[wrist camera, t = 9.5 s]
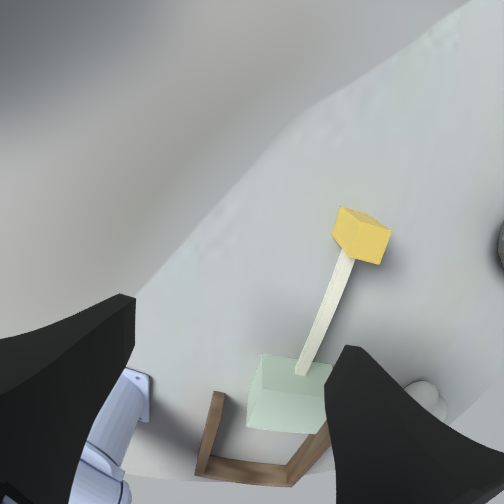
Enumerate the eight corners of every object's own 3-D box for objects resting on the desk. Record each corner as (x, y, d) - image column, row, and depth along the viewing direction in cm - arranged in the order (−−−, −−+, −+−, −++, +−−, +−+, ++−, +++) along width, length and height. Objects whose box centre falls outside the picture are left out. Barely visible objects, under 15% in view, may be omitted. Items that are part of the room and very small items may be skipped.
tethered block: (248, 392, 24) (245, 426, 20) (311, 197, 18) (324, 210, 14) (310, 401, 24) (315, 434, 20) (392, 222, 18) (419, 240, 14)
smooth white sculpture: (384, 384, 25) (429, 365, 22) (411, 411, 26) (449, 395, 24) (384, 419, 21) (434, 401, 18) (411, 441, 23) (453, 427, 20)
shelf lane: (197, 456, 28) (194, 475, 25) (213, 390, 24) (209, 415, 21) (290, 468, 29) (291, 487, 26) (336, 408, 24) (341, 431, 21)
